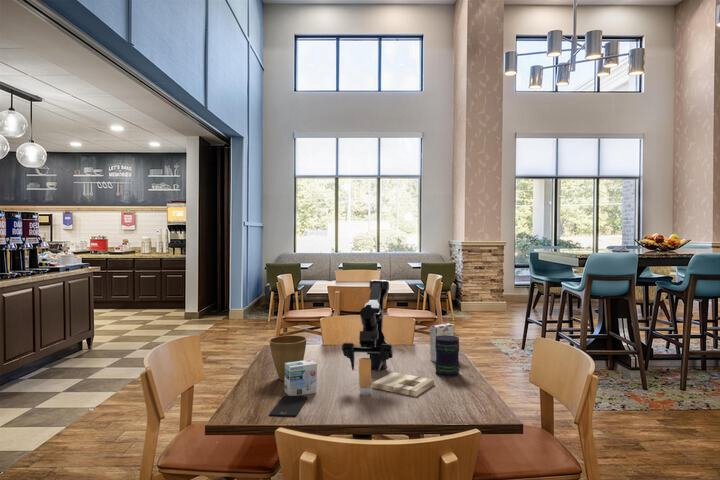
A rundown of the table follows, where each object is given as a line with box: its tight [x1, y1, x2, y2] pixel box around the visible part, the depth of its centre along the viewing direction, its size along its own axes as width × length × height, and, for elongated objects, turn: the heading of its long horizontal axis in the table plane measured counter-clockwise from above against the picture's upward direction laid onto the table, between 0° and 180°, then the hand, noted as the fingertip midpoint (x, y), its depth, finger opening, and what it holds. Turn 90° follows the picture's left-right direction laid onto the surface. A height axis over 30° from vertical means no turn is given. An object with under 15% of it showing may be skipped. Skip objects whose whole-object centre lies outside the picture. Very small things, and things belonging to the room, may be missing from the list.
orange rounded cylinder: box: [358, 357, 372, 397], centre depth 166 cm, size 4×4×12 cm
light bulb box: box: [284, 359, 318, 396], centre depth 168 cm, size 11×7×11 cm, turn 118°
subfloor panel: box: [372, 371, 435, 397], centre depth 174 cm, size 18×16×2 cm
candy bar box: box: [429, 322, 455, 363], centre depth 211 cm, size 11×5×16 cm, turn 120°
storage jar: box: [434, 335, 460, 378], centre depth 190 cm, size 10×10×15 cm
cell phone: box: [268, 394, 309, 418], centre depth 154 cm, size 9×18×1 cm, turn 174°
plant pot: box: [268, 334, 307, 382], centre depth 184 cm, size 15×15×16 cm
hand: (365, 370), depth 166 cm, fingers open, 9 cm apart
